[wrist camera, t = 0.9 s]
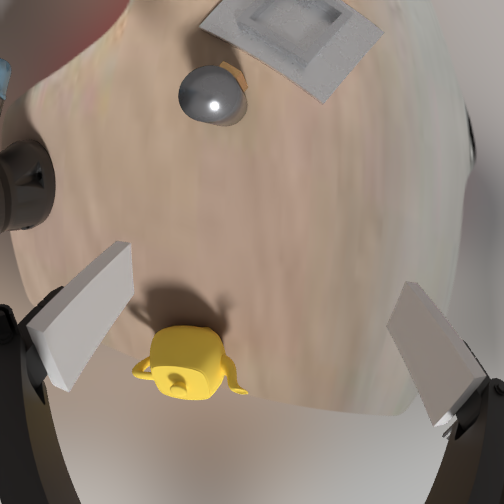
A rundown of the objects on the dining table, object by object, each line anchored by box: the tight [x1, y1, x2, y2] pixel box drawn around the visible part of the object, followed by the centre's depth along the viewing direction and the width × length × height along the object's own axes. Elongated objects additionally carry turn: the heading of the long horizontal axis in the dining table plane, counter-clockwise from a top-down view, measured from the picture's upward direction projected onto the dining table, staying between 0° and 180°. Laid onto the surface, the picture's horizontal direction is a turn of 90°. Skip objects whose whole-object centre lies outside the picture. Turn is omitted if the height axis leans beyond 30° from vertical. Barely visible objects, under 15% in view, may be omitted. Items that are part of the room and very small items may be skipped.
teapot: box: [132, 325, 248, 400], centre depth 39 cm, size 18×11×11 cm, turn 93°
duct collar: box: [199, 0, 384, 105], centre depth 23 cm, size 18×14×4 cm
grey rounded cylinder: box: [178, 61, 248, 126], centre depth 25 cm, size 5×6×10 cm
